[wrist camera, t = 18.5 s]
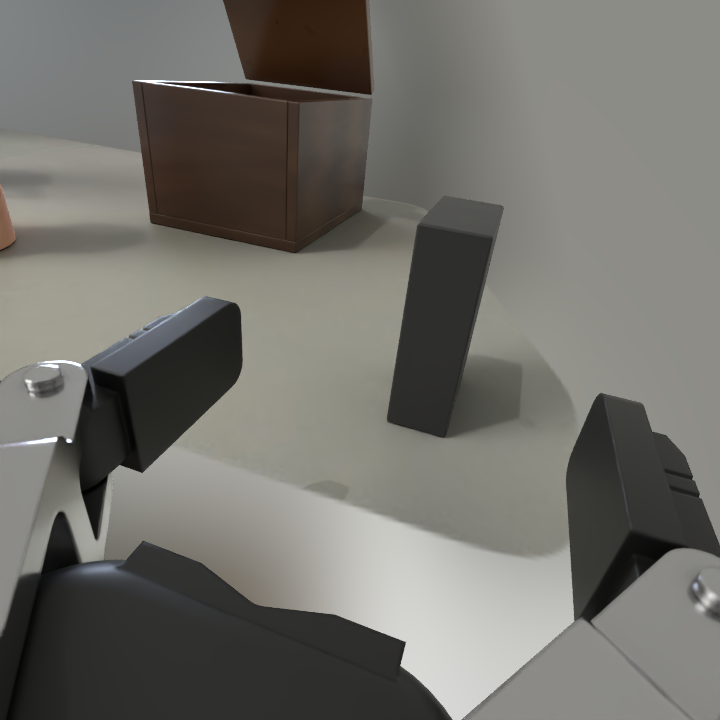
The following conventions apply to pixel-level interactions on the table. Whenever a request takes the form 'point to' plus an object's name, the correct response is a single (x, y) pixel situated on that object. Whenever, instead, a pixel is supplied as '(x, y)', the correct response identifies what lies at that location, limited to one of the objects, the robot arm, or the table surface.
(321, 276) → the table surface
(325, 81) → the lid
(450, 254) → the tall charcoal box
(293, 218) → the chest
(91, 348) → the table surface
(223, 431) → the table surface
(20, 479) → the robot arm
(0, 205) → the pepper shaker
